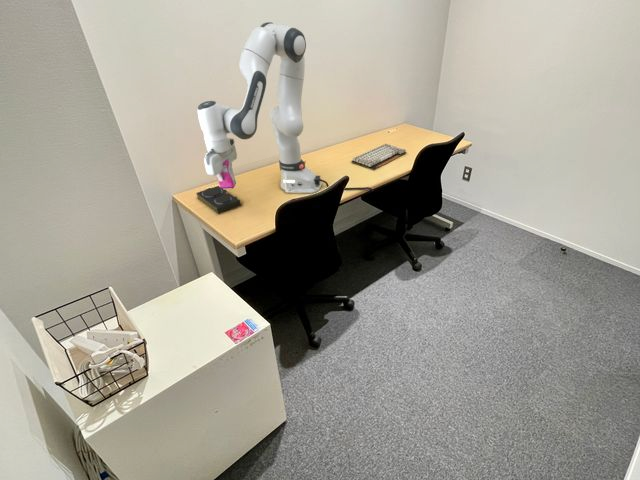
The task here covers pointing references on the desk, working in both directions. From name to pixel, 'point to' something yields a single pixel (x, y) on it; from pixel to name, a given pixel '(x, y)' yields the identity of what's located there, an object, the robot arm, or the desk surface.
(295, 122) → the robot arm
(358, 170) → the desk surface
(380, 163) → the mechanical keyboard
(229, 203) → the hot plate
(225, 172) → the supplement box
